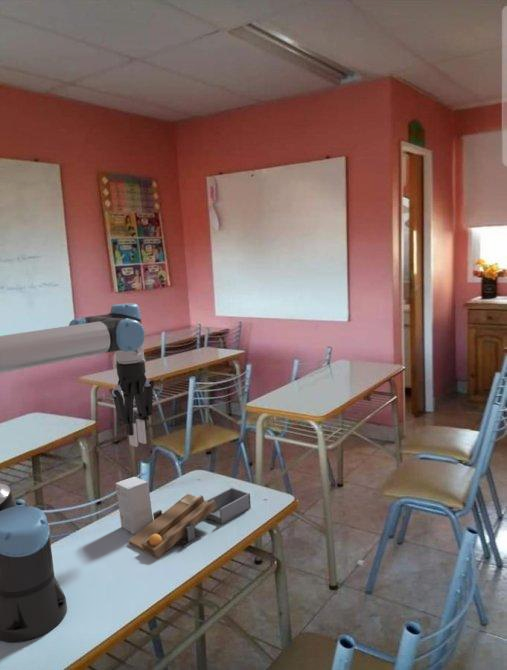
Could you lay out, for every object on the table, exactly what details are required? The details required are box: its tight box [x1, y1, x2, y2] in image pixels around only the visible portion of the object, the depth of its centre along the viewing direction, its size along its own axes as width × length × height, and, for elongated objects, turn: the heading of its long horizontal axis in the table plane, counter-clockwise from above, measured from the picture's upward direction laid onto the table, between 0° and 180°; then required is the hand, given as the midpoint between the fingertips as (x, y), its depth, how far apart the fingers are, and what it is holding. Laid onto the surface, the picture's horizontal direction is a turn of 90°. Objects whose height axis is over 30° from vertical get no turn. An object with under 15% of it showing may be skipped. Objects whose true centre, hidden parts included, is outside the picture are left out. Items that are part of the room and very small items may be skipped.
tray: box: [205, 487, 252, 525], centre depth 162 cm, size 12×7×4 cm, turn 138°
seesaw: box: [128, 493, 217, 559], centre depth 151 cm, size 22×12×2 cm, turn 138°
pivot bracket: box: [152, 509, 202, 548], centre depth 151 cm, size 6×15×4 cm, turn 48°
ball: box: [149, 534, 162, 547], centre depth 142 cm, size 3×3×3 cm
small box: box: [115, 476, 154, 535], centre depth 155 cm, size 8×6×13 cm
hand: (138, 443), depth 153 cm, fingers open, 2 cm apart
